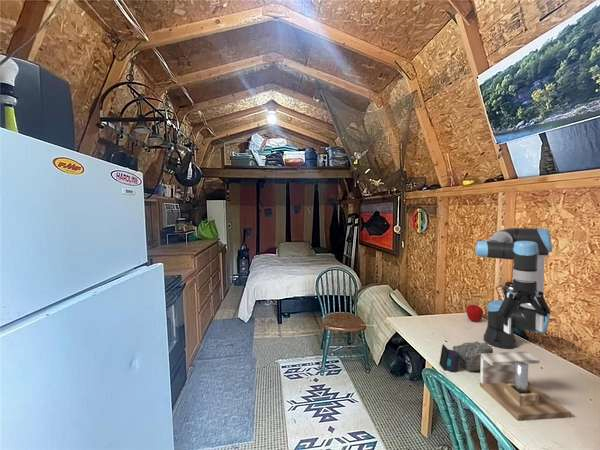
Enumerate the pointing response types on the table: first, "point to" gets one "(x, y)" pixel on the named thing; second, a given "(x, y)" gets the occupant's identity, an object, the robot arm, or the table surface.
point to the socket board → (501, 387)
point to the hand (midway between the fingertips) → (523, 331)
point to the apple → (474, 313)
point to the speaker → (449, 359)
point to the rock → (472, 354)
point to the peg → (521, 377)
